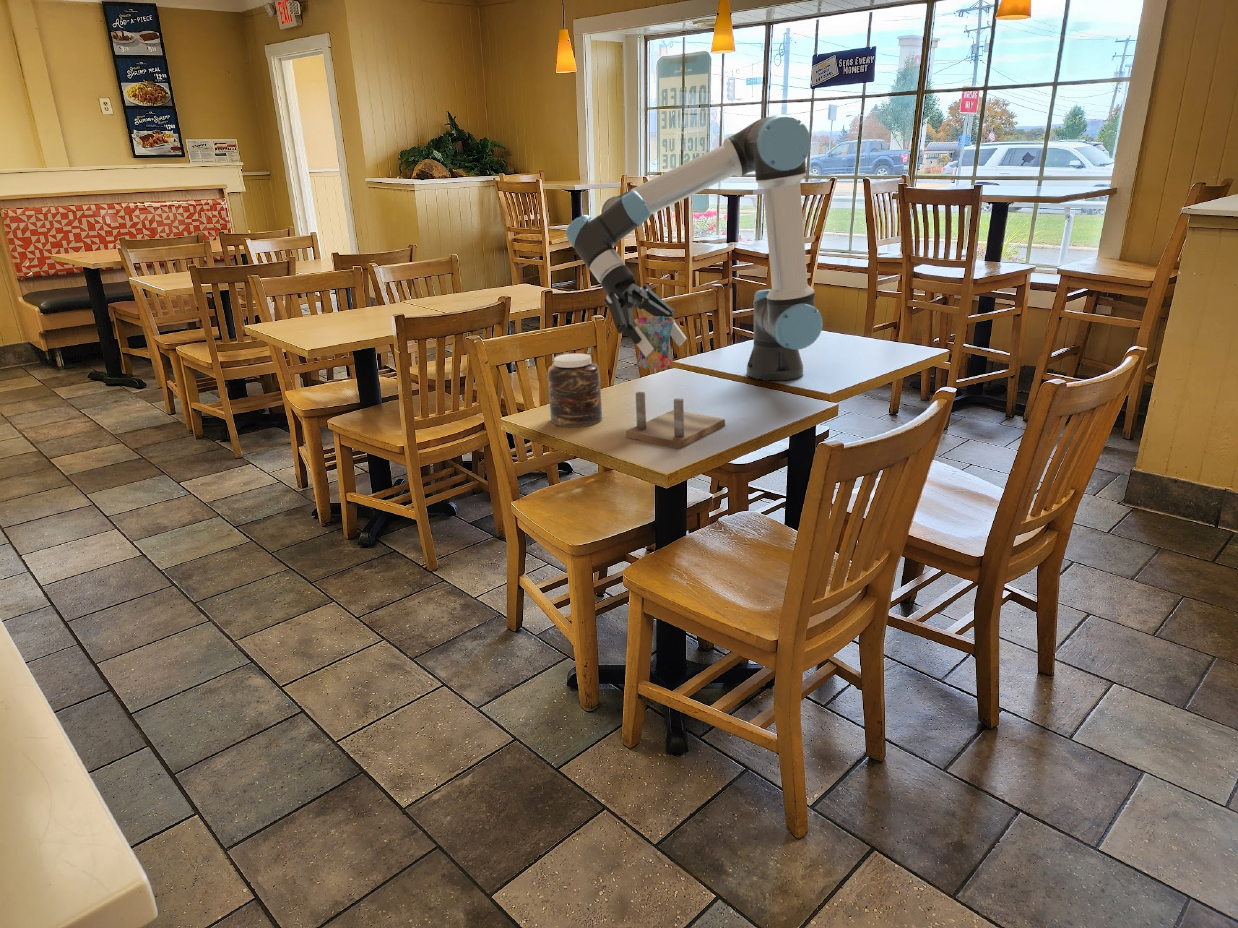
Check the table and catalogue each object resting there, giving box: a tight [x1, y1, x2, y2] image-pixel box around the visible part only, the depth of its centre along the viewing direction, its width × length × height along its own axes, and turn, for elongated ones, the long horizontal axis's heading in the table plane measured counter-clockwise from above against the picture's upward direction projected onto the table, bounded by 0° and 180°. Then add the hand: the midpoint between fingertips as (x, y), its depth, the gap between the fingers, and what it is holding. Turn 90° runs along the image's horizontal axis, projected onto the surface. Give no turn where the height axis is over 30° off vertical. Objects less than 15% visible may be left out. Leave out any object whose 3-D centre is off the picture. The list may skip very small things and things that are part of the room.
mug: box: [633, 315, 676, 370], centre depth 185 cm, size 12×9×11 cm
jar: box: [547, 353, 603, 428], centre depth 187 cm, size 12×12×15 cm
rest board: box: [625, 391, 726, 449], centre depth 177 cm, size 18×14×10 cm
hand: (666, 347), depth 184 cm, fingers closed on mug, 12 cm apart
